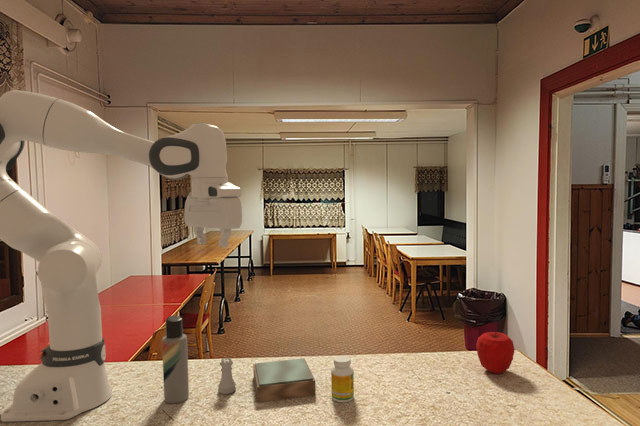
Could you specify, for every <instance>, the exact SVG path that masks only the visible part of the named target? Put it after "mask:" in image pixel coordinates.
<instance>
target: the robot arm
mask: <svg viewBox="0 0 640 426" xmlns="http://www.w3.org/2000/svg"><path fill="white" fill-rule="evenodd" d="M25 141H26V142H32V143H35V144H39V145H43V146H46V147H49V148H53V149H57V150H62V151H67V152H74V153H75V152H76V153H87V154H88V153H89V154H101V155H108V156H109V155H110V156H115V157H118V158H123V159H126V160H128V161H133V162H135V163H140V164H142V165H146V166H148V167H150V168H152V169H154V170H155V171H156V173H158V174H159V175H161V176H162V177H164V178H166V179H168V180H172V181H180V180H183V179H186V177H189V176H190V177H191V190H190V191H189V193H188V195H187V196H186V200H185V202H184V215H183V216H184V217H183V218H184V224H185V226H186V227H192V228H193V231H194V234H195V236H196V240H197V241H196V242H197V245H206V244H207V237H206V236H205V234H204V231H205V228H210V229H211V228H212V229H220V234H221V237H220V239H218V247H220V248H227V247H229V239H230V237H231V234H232V230H234V229H239V228H241V225H242V224H243V223H242V222H243V207H242V201H241V199H240V198H239V197H241V196H242V189H241V188H240V187H239V186H236V185H234V184H233V183H232V182H229V175H228V173H227V163H228V151H227V140H226V137H225V133H224V132H223V130H222V129H221V128H220V127H218V126H216V125H214V124H209V123H204V122H202V123H201V122H199V123H198V122H197V123H193V124H191V125H190V126H189V127H188V128H186V129H184V130H182V131H180V132H178V133H176V134H172V135H168V136H165V137H162V138H159V139H157V140H156V141H152V140H150V139H146V138H143V137H139V136H137V135H134V134H131V133H128V132H125V131H122V130H120V129H118V128H116V127H114V126H112V125H111V124H109V123H108V122H106V121H105V120H103V119H102V118H101V117H99V116H98V115H97V114H95V113H93V112H92V111H90V110H88V109H87V108H85V107H82V106H80V105H78V104H77V103H73V102H70V101H67V100H64V99H61V98H57V97H55V96H52V95H51V96H50V95H47V94H44V93H38V92H32V91H27V90H21V89H20V90H18V89H12V90H8V91H7V92H4V93H3V94H2V95H1V96H0V241H2V242H3V243H4V244H6V245H8V246H9V247H10V248H12V249H14V250H15V251H16V250H17V251H19V252H21V253H23V254H25V255H26V256H28V257H30V258H32V259H34V260H35V261H37V262H39V263H38V267H37V277H38V280H39V281H40V285H41V290H42V295H43V299H44V303H45V307H46V311H47V312H46V313H47V319H48V321H47V323H48V324H47V325H48V338H49V339H48V340H49V341H48V343H47V344H45V346H44V348H43V349H42V350H40V353H39V354H38V355H37V356H38V360H39V361H40V360H41V363H39V364H38V365H37V366H36V367H35V368H34V369H32V370H31V371H29V373H28V374H26V375H25V376H24V377H23V378H22V379H21V380H20V381H19V382H18V384H17V385H16V387H15V389H14V392H13V396H12V400H10V401H9V402H7V403H6V405H5V406H4V408H3V409H2V411H1V414H0V420H1V422H37V421H41V422H42V421H65V420H70V419H72V418H75V417H76V416H78V415H79V414H81V413H83V412H87V411H89V410H92V409H94V408H96V407H98V406H101V405H102V404H104V403H106V402H107V401H108V400H109V399H110V398H111V397H112V395H113V390H112V388H111V385H110V383H109V379H108V375H107V371H106V370H107V369H106V365H105V364H106V363H105V361H106V344H105V338H104V337H103V326H102V324H103V323H102V307H101V303H100V299H99V292H98V283H97V272H98V271H99V269H100V267H101V266H102V263H103V261H102V260H103V259H102V257H103V256H102V252H101V250H100V248H99V247H98V245H97V244H96V243H94V242H93V241H92V240H91V239H90V238H88V237H87V236H85V235H84V234H83V233H81V232H80V231H78V230H77V229H76V228H74V227H73V226H72V225H70V224H69V223H67V222H66V221H64V220H62V218H60V217H59V216H57V215H55V214H54V213H53V212H52V211H50V210H49V209H48V208H47V207H45V206H44V205H43V204H42V203H41V202H39V201H38V200H37V199H36V198H35V197H34V196H32V195H31V194H29V193H28V191H26V190H25V189H24V188H22V187H21V186H20V184H18V183H16V181H14V180H13V179H12V178H11V177H10V176H9V174H8V171H10V170H11V169H12V168H13V167H14V165H15V163H16V160H17V159H18V158H19V157H20V155H22V152H23V150H24V147H25Z"/></svg>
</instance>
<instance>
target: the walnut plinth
mask: <svg viewBox="0 0 640 426" xmlns="http://www.w3.org/2000/svg"><path fill="white" fill-rule="evenodd" d="M252 366H253V381H254V388H255V392H256V399H257V403H263V402H270V401H279V400H285V399H286V400H287V399H295V398H301V397H311V396H316V395H317V394H316V393H317V392H316V390H317V389H316V379H315V377H314V375H313V373H312V370H311V368H310V367H309V365H308V362H307V361H306V359H305V358H294V359H284V360H273V361H265V362H264V361H263V362H255V364H253V365H252Z"/></svg>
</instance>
